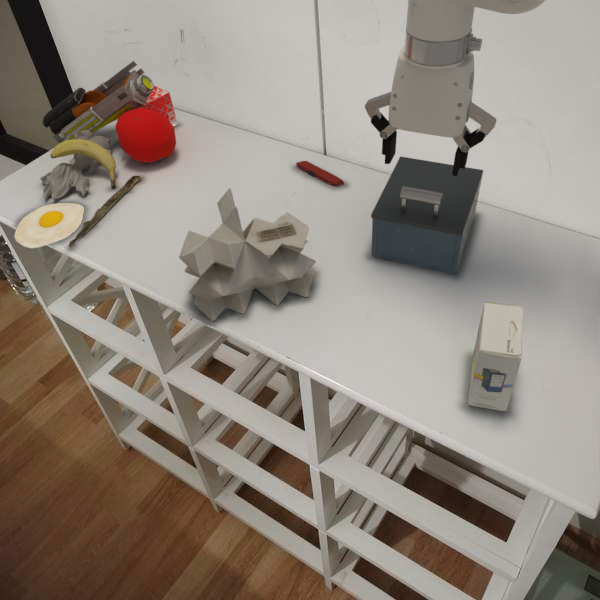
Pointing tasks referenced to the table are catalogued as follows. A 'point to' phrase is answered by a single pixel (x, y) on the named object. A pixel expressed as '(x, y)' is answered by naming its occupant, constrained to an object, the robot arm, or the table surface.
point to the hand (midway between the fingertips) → (422, 164)
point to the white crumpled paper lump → (247, 261)
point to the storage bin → (420, 243)
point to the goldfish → (73, 169)
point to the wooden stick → (105, 208)
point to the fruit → (87, 154)
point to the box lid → (428, 196)
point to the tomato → (145, 135)
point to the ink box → (496, 356)
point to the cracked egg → (49, 224)
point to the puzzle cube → (161, 104)
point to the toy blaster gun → (99, 104)
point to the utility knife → (319, 173)
